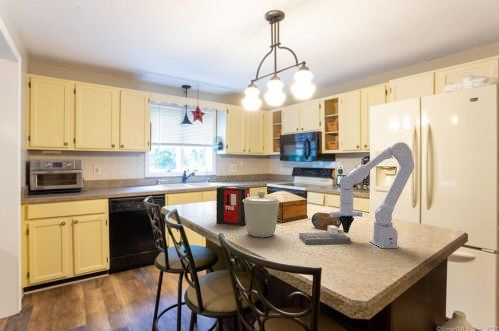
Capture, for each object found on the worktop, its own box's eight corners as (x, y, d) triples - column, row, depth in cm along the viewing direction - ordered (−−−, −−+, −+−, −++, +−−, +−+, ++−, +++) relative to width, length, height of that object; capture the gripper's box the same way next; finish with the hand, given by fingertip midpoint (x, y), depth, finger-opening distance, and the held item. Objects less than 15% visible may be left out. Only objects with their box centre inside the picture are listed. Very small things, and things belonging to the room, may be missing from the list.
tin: (311, 227, 142) (311, 211, 142) (312, 226, 145) (312, 210, 145) (340, 231, 135) (340, 214, 135) (341, 229, 138) (341, 213, 138)
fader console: (350, 242, 117) (350, 237, 117) (306, 244, 114) (306, 238, 114) (340, 236, 127) (340, 230, 126) (299, 237, 124) (299, 231, 124)
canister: (278, 241, 117) (278, 194, 117) (238, 238, 121) (238, 192, 120) (281, 230, 135) (281, 189, 135) (246, 228, 139) (246, 188, 138)
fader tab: (337, 236, 119) (337, 227, 119) (331, 236, 119) (331, 227, 119) (333, 233, 123) (333, 225, 123) (327, 233, 123) (327, 225, 122)
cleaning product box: (249, 222, 152) (249, 187, 152) (244, 226, 144) (244, 189, 143) (222, 220, 157) (222, 186, 157) (216, 223, 149) (216, 187, 148)
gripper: (357, 201, 126) (356, 229, 126) (327, 201, 124) (327, 230, 125) (365, 203, 119) (364, 233, 119) (334, 204, 117) (333, 234, 118)
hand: (345, 232), depth 122 cm, fingers closed
